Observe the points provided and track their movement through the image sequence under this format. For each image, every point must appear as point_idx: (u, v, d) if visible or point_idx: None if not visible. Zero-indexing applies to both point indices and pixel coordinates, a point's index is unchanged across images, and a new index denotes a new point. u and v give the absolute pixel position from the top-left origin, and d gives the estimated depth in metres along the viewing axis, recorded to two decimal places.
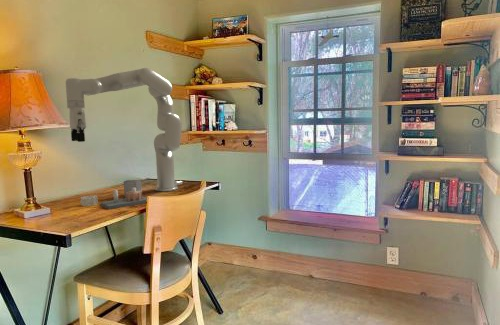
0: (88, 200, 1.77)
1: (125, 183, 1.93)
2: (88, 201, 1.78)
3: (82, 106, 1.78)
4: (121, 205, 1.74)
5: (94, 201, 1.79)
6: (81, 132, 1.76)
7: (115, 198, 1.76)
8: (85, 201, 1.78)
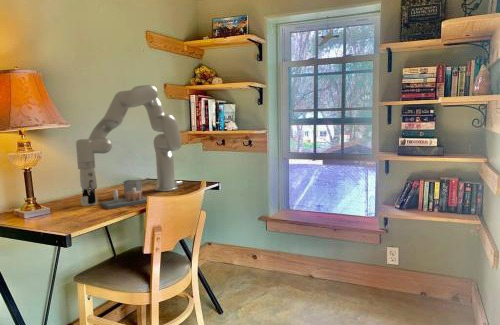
0: None
1: (125, 183, 1.93)
2: None
3: (93, 166, 1.78)
4: (121, 205, 1.74)
5: None
6: (92, 194, 1.77)
7: (115, 198, 1.76)
8: (85, 201, 1.78)
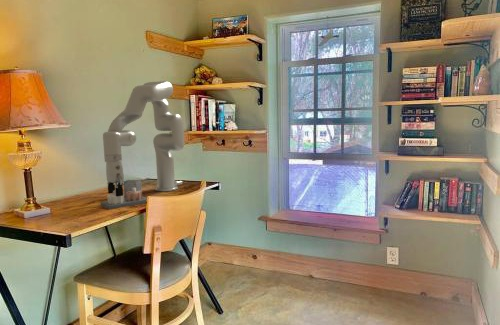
0: (115, 198, 1.74)
1: (125, 183, 1.93)
2: (115, 199, 1.74)
3: (120, 159, 1.74)
4: (121, 205, 1.74)
5: (121, 199, 1.75)
6: (120, 187, 1.72)
7: None
8: (112, 199, 1.74)
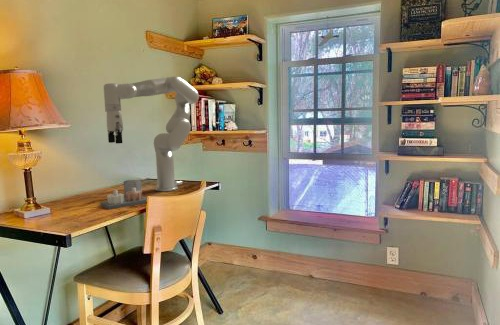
0: (115, 198, 1.74)
1: (125, 183, 1.93)
2: (115, 199, 1.74)
3: (119, 109, 1.88)
4: (121, 205, 1.74)
5: (121, 199, 1.75)
6: (119, 134, 1.86)
7: None
8: (112, 199, 1.74)
